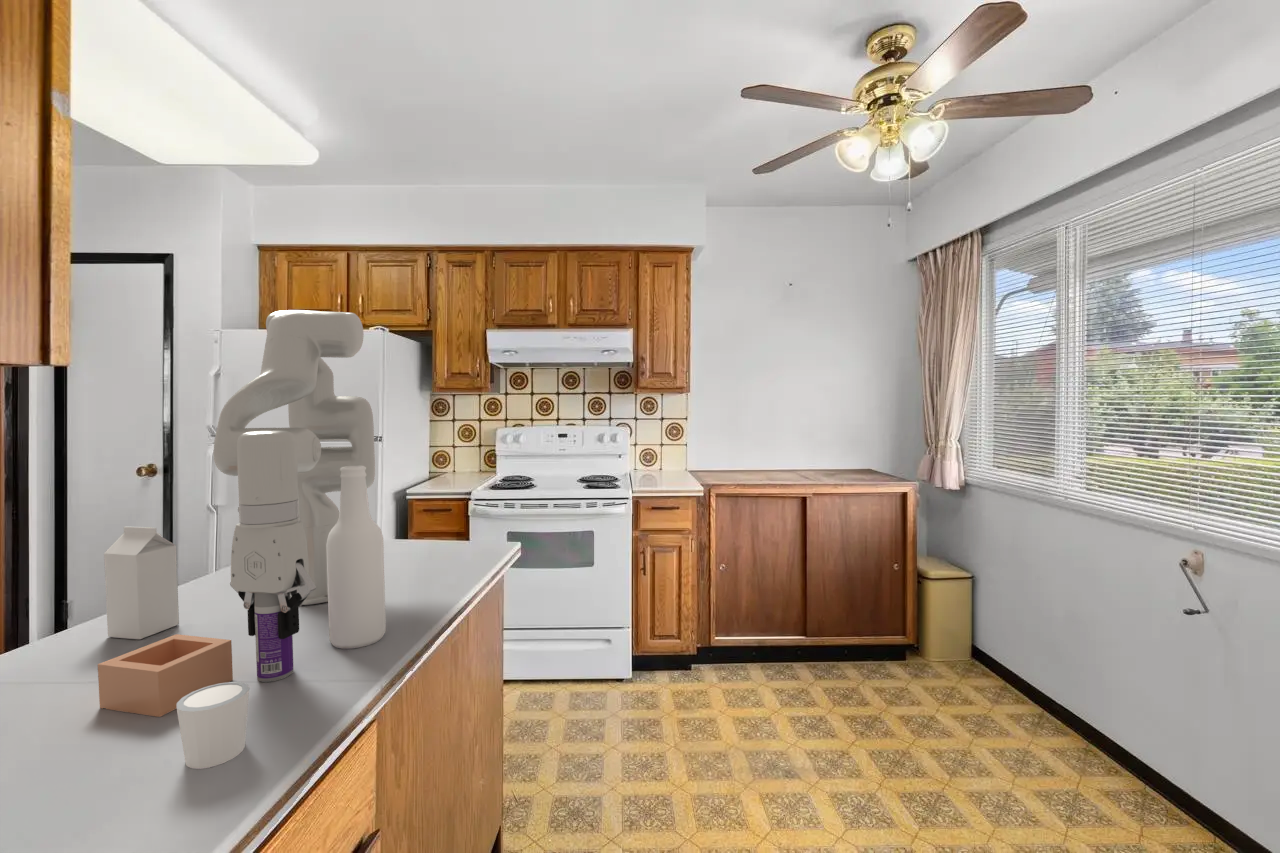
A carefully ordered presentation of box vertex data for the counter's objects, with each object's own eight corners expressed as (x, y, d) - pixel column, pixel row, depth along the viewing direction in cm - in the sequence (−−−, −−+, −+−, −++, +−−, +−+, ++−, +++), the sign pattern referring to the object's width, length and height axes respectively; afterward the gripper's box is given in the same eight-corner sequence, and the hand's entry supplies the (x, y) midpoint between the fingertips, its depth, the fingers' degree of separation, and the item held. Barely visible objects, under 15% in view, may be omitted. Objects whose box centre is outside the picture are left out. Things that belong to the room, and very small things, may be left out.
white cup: (204, 738, 71) (202, 682, 70) (263, 735, 71) (261, 679, 71) (162, 774, 64) (160, 712, 64) (228, 770, 64) (226, 708, 64)
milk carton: (139, 640, 101) (135, 532, 100) (107, 637, 102) (102, 530, 101) (179, 625, 108) (175, 523, 107) (148, 622, 109) (144, 522, 108)
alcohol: (318, 650, 96) (312, 469, 95) (347, 629, 105) (342, 464, 104) (370, 650, 96) (365, 469, 94) (395, 629, 104) (390, 463, 103)
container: (300, 670, 89) (297, 573, 88) (272, 684, 84) (269, 582, 84) (278, 665, 90) (275, 570, 90) (249, 679, 86) (245, 579, 85)
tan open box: (177, 673, 88) (176, 634, 88) (232, 679, 86) (231, 640, 85) (99, 708, 78) (97, 664, 78) (159, 717, 76) (157, 671, 75)
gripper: (200, 516, 85) (205, 639, 85) (296, 520, 81) (301, 649, 81) (246, 507, 92) (250, 620, 93) (336, 510, 88) (340, 629, 89)
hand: (274, 632), depth 87 cm, fingers closed on container, 4 cm apart
